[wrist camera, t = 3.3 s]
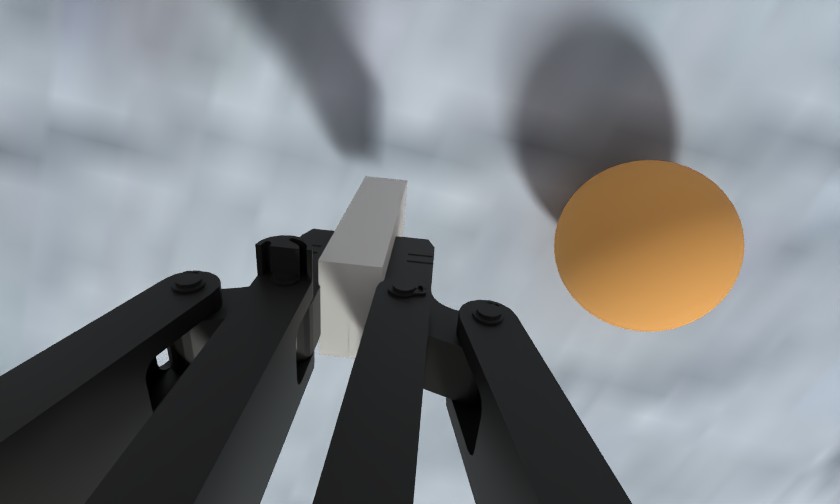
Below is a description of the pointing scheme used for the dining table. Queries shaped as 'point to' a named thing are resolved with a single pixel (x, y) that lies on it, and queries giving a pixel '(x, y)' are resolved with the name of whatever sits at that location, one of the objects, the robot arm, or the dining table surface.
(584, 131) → the dining table surface
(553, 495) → the robot arm
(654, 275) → the ball
